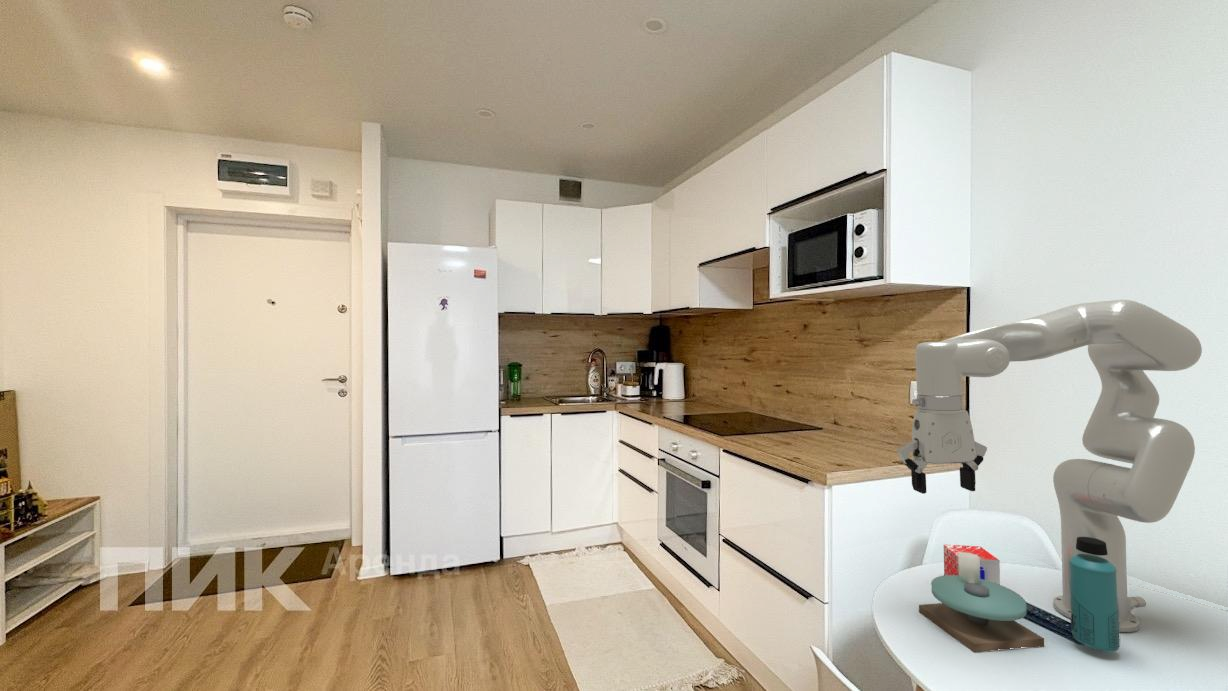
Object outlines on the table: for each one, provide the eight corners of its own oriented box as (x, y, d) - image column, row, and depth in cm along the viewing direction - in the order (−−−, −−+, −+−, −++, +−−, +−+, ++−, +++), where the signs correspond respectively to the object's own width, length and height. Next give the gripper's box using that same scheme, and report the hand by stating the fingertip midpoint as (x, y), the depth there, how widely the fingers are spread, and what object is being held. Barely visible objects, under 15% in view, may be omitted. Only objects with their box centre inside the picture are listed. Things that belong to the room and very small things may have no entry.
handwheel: (979, 580, 105) (978, 549, 105) (1048, 617, 90) (1047, 582, 90) (914, 584, 104) (913, 553, 104) (973, 623, 89) (972, 587, 89)
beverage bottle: (1131, 663, 86) (1128, 547, 86) (1086, 658, 87) (1083, 544, 87) (1102, 641, 92) (1099, 533, 92) (1061, 637, 93) (1058, 531, 94)
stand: (980, 607, 105) (979, 582, 105) (1044, 646, 91) (1043, 618, 91) (918, 612, 103) (918, 587, 103) (974, 652, 89) (973, 623, 89)
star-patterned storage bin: (981, 579, 117) (980, 546, 117) (1000, 595, 109) (999, 560, 110) (943, 577, 119) (943, 544, 119) (960, 593, 111) (959, 557, 111)
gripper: (908, 408, 94) (912, 498, 93) (997, 404, 94) (1002, 494, 94) (885, 403, 101) (889, 487, 101) (968, 400, 101) (972, 483, 101)
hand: (943, 490), depth 97 cm, fingers open, 9 cm apart
